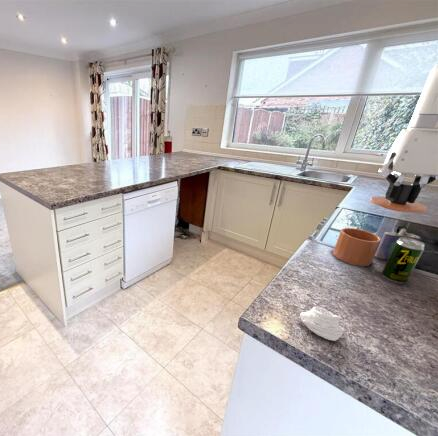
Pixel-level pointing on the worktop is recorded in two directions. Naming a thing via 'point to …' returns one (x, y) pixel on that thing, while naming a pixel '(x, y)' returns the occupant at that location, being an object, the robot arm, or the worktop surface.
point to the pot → (356, 246)
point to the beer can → (402, 260)
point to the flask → (391, 243)
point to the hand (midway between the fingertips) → (399, 200)
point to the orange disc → (400, 201)
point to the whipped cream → (323, 323)
